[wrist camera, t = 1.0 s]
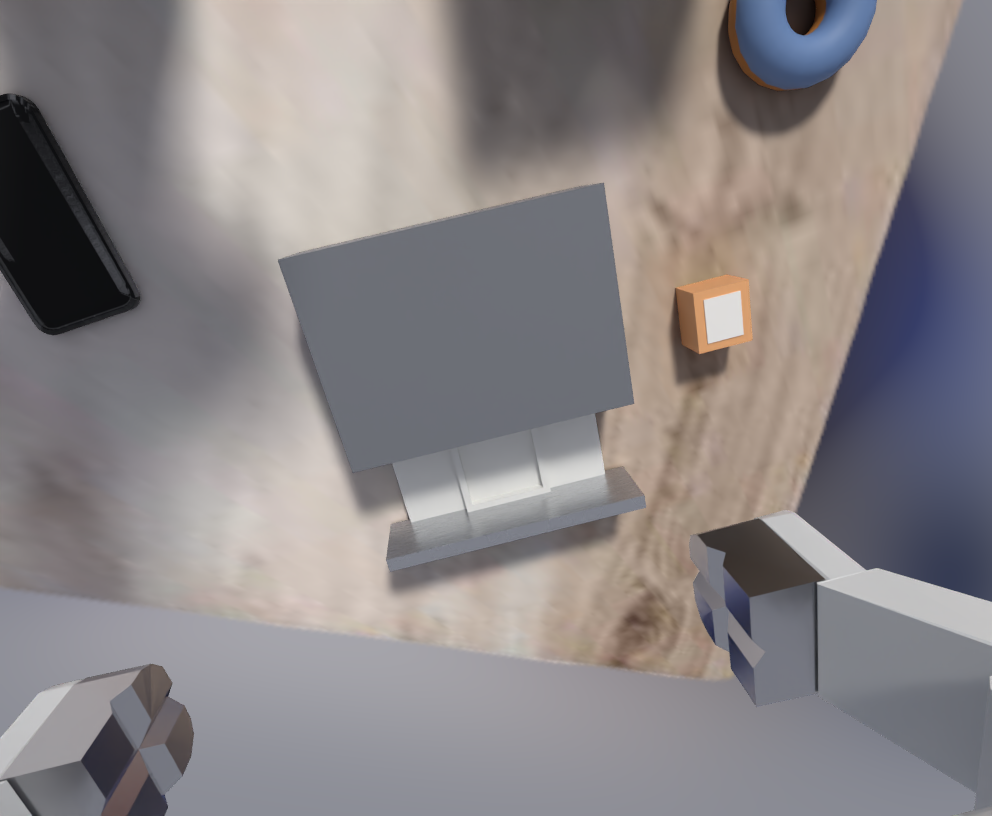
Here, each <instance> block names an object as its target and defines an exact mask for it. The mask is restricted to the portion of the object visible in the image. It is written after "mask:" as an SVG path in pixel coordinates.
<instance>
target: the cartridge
mask: <svg viewBox="0 0 992 816" xmlns="http://www.w3.org/2000/svg"><path fill="white" fill-rule="evenodd" d="M675 289H676V297H677V306H678V315H679V323H680V332H681V341H682V345H684V346H685V347H687V348H689V349H691V350H693V351H695V352H697V353H698V354H702V353H706V352H709V351H713V350H717V349H721V348H725V347H729V346H732V345H736V344H740V343H744V342H748V341H752V340H753V339H752V325H751V310H750V295H749V281H748V279H744V278H740V277H735V276H731V275H724V276H720V277H716V278H712V279H708V280H704V281H701V282H697V283H693V284H689V285H685V286H681V287H677V288H675Z"/></svg>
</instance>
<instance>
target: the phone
mask: <svg viewBox="0 0 992 816" xmlns="http://www.w3.org/2000/svg"><path fill="white" fill-rule="evenodd" d="M0 270H1V272H2V274H3V275H4V277H5V278H6V280H7V281H8V283H9V285H10V286H11V288H12V289H13V291H14V292H15V294H16V296H17V297H18V299H19V300H20V302H21V303H22V305H23V307H24V308H25V310H26V311H27V313H28V314H29V316H30V318H31V319H32V321H33V322H34V324H35V325H36V326H37V328H38V329H39V330H41V331H42V332H44V333H46V334H49V335H57V334H61V333H64V332H67V331H70V330H73V329H76V328H79V327H82V326H85V325H87V324H90V323H93V322H96V321H99V320H102V319H105V318H108V317H111V316H114V315H117V314H120V313H123V312H126V311H129V310H132V309H134V308H135V307H137V305H138V304H139V302H140V293H139V290H138V288H137V287H136V285H135V283H134V281H133V279H132V278H131V276H130V274H129V272H128V270H127V269H126V267H125V265H124V263H123V261H122V260H121V258H120V256H119V254H118V252H117V250H116V249H115V247H114V245H113V243H112V241H111V240H110V238H109V236H108V234H107V232H106V231H105V229H104V227H103V225H102V223H101V222H100V220H99V218H98V216H97V214H96V212H95V211H94V209H93V207H92V205H91V203H90V202H89V200H88V198H87V196H86V194H85V193H84V191H83V189H82V187H81V185H80V183H79V182H78V180H77V178H76V176H75V174H74V173H73V171H72V169H71V167H70V165H69V164H68V162H67V160H66V158H65V156H64V155H63V153H62V151H61V149H60V147H59V145H58V144H57V142H56V140H55V138H54V136H53V135H52V133H51V131H50V129H49V127H48V126H47V124H46V122H45V120H44V118H43V117H42V115H41V113H40V111H39V109H38V108H37V107H36V105H35V104H34V103H33V102H32V101H30V100H29V99H27V98H25V97H23V96H19V95H15V94H3V95H0Z"/></svg>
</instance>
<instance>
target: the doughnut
mask: <svg viewBox="0 0 992 816" xmlns="http://www.w3.org/2000/svg"><path fill="white" fill-rule="evenodd" d="M876 2H877V0H815V6H816V13H815V20H814V23H813V26H812V27H811V29H810V30H809V32H808V33H807V34H806V35H800V34H797V33H795V32H794V31H793V30H792V29H791V27H790V25H789V23H788V22H787V17H786V12H785V9H786V0H731V1H730V4H729V21H728V34H729V39H730V43H731V48H732V52H733V55H734V56H735V58H736V60H737V62H738V63H739V65H740V67H741V69H742V70H743V72H744V73H745V74H746V75H748V76H749V77H750V78H751V79H752V80H754V81H755V82H756V83H757V84H758V85H760V86H764V87H767V88H770V89H773V90H776V91H784V90H796V89H803V88H808V87H810V86H812V85H814V84H817V83H819V82H821V81H823V80H825V79H828V78H829V77H831V76H832V75H833V74H834V73H836V72H837V71H838V70H839V69H840V68H841V67H842V66H844V65H845V64H846V63H847V62H848V61H849V60H850V59H851V57H852V56H853V55H854V53H855V52H856V50H857V49H858V47H859V46H860V44H861V43H862V41H863V40H864V38H865V37H866V35H867V32H868V30H869V27H870V24H871V22H872V19H873V16H874V14H875V10H876Z"/></svg>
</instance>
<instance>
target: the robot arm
mask: <svg viewBox="0 0 992 816" xmlns="http://www.w3.org/2000/svg"><path fill="white" fill-rule="evenodd" d="M689 549H690V558H691V560H692V561H693V563H694V564H695V565H696V567H697V568H698V569H699V573H698V575H697V576H696V578H695V580H694V581H693V587H694V594H695V601H696V604H697V607H698V611H699V614H700V617H701V620H702V622H703V624H704V626H705V628H706V630H707V632H708V634H709V635H710V637H711V639H712V640H713V642H714V643H715V645H716V646H718V647H720V648H722V649H724V650H726V651H728V652H729V653H730V663H731V669H732V671H733V672H734V674H735V675H736V677H737V678H738V680H739V681H740V683H741V684H742V686H743V687H744V689H745V690H746V692H747V693H748V695H749V696H750V698H751V699H752V701H753V702H754V704H755V705H756V706H762V705H767V704H771V703H776V702H780V701H785V700H790V699H794V698H799V697H804V696H808V695H813V694H817V693H818V697H820V698H822V699H823V700H825V701H826V702H828V703H830V704H831V705H833V706H834V707H836V708H838V709H840V710H841V711H843V712H844V713H846V714H848V715H849V716H851V717H853V718H854V719H856V720H857V721H859V722H861V723H863V724H864V725H866V726H867V727H869V728H870V729H872V730H874V731H876V732H877V733H879V734H880V735H882V736H884V737H885V738H887V739H888V740H890V741H892V742H893V743H895V744H897V745H898V746H900V747H901V748H903V749H905V750H906V751H908V752H910V753H911V754H913V755H915V756H916V757H918V758H920V759H921V760H923V761H925V762H926V763H928V764H929V765H931V766H933V767H934V768H936V769H937V770H939V771H941V772H942V773H944V774H946V775H947V776H949V777H951V778H952V779H954V780H955V781H957V782H959V783H960V784H962V785H964V786H965V787H967V788H969V789H971V790H972V791H974V792H975V793H976V797H975V806H974V810H973V811H969V812H965V813H962V814H958V815H954V816H992V602H989V601H986V600H983V599H979V598H976V597H973V596H969V595H966V594H962V593H959V592H956V591H952V590H949V589H946V588H942V587H939V586H935V585H932V584H929V583H925V582H922V581H919V580H915V579H912V578H908V577H905V576H902V575H898V574H895V573H892V572H889V571H885V570H881V569H878V568H876V569H871V570H867V571H866V570H865V569H864V568H863V567H861V566H860V565H859V564H858V563H856V562H855V561H853V559H851V558H850V557H849V556H848V555H847V554H845V553H844V552H843V551H842V550H840V549H839V548H838V547H836V546H835V545H834V544H833V543H831V542H830V541H829V540H828V539H827V538H825V537H824V536H823V535H822V534H820V533H819V532H818V531H817V530H815V529H814V528H813V527H812V526H810V525H809V524H808V523H807V522H805V521H804V520H803V519H802V518H801V517H799V516H798V515H797V514H796V513H794V512H792V511H789V510H783V511H779V512H775V513H772V514H768V515H764V516H761V517H757V518H754V520H750V521H746V522H742V523H738V524H734V525H730V526H726V527H721V528H717V529H713V530H709V531H705V532H701V533H697V534H693V535H690V542H689ZM171 686H172V682H171V680H170V678H169V677H168V675H167V673H166V672H165V670H164V668H163V667H162V666H158V665H154V664H148V665H143V666H139V667H134V668H130V669H125V670H120V671H116V672H111V673H106V674H102V675H97V676H93V677H88V678H85V679H81V680H76V681H71V682H67V683H63V684H58V685H54V686H52V687H50V688H48V689H46V690H44V691H41V692H39V693H38V695H37V696H36V697H35V698H34V699H33V701H32V702H31V703H30V704H29V705H28V706H27V707H26V709H25V710H24V711H23V712H22V713H21V714H20V716H19V717H18V718H17V719H16V720H15V721H14V723H13V724H12V725H11V726H10V727H9V728H8V730H7V731H6V732H5V733H4V734H3V735H2V737H1V738H0V816H164V815H165V813H166V811H167V809H168V805H167V802H166V798H165V793H166V792H167V791H168V790H169V789H170V788H171V787H172V786H173V785H174V784H175V783H176V782H177V781H178V780H179V779H180V778H181V777H182V776H183V774H184V771H185V769H186V767H187V765H188V762H189V760H190V758H191V753H192V745H193V737H194V732H193V728H192V722H191V718H190V716H189V714H188V712H187V710H186V708H185V706H184V705H182V704H180V703H179V702H177V701H175V700H173V699H171V698H170V697H168V695H169V692H170V689H171Z"/></svg>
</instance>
